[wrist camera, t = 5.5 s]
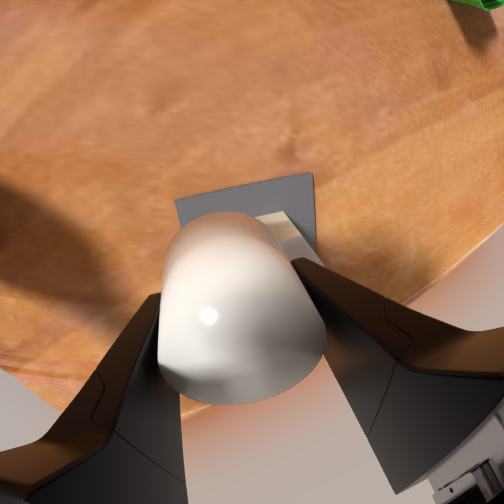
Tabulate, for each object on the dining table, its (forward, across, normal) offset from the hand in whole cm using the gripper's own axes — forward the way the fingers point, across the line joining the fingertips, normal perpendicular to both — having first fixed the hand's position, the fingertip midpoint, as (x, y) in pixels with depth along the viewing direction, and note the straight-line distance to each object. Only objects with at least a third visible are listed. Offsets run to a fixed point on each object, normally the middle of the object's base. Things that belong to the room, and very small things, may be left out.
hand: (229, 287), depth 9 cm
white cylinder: (+1, 0, 0) cm, 1 cm away
